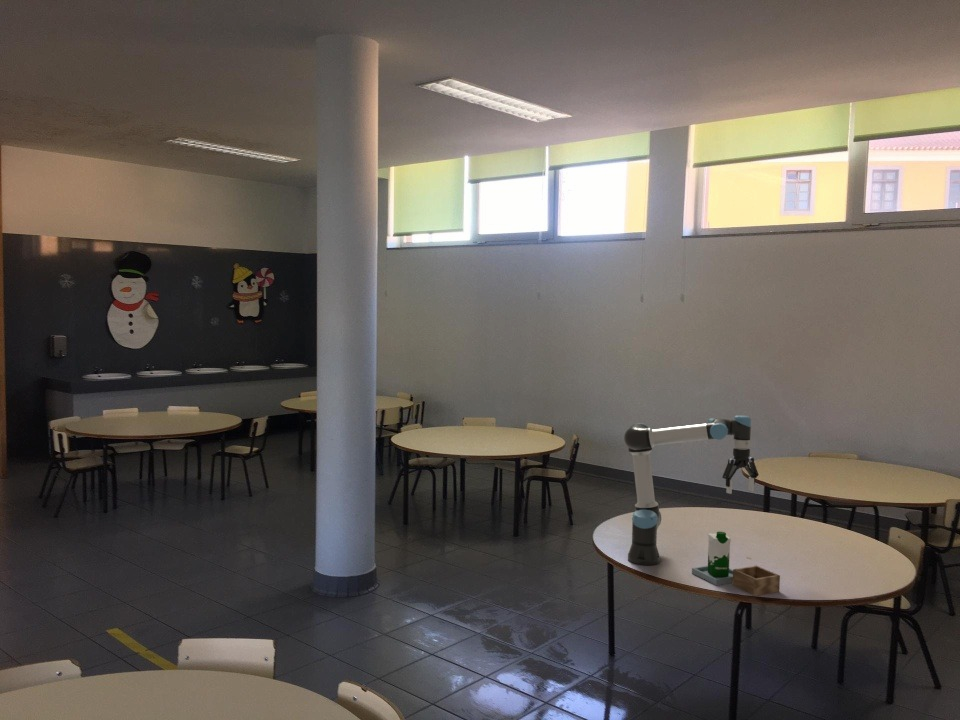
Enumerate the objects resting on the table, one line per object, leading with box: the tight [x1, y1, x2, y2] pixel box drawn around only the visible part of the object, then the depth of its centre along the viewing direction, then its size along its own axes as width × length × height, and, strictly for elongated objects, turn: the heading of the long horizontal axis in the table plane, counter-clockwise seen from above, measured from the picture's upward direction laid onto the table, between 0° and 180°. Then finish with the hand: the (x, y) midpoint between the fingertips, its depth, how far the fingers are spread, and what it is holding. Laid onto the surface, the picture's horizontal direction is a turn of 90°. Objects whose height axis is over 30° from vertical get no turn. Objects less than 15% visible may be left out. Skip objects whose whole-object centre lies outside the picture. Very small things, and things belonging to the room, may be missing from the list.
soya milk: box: [707, 531, 732, 577], centre depth 326 cm, size 9×9×20 cm
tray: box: [691, 565, 733, 586], centre depth 327 cm, size 16×16×2 cm
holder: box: [732, 565, 781, 597], centre depth 314 cm, size 14×14×7 cm
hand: (740, 492), depth 344 cm, fingers open, 13 cm apart
